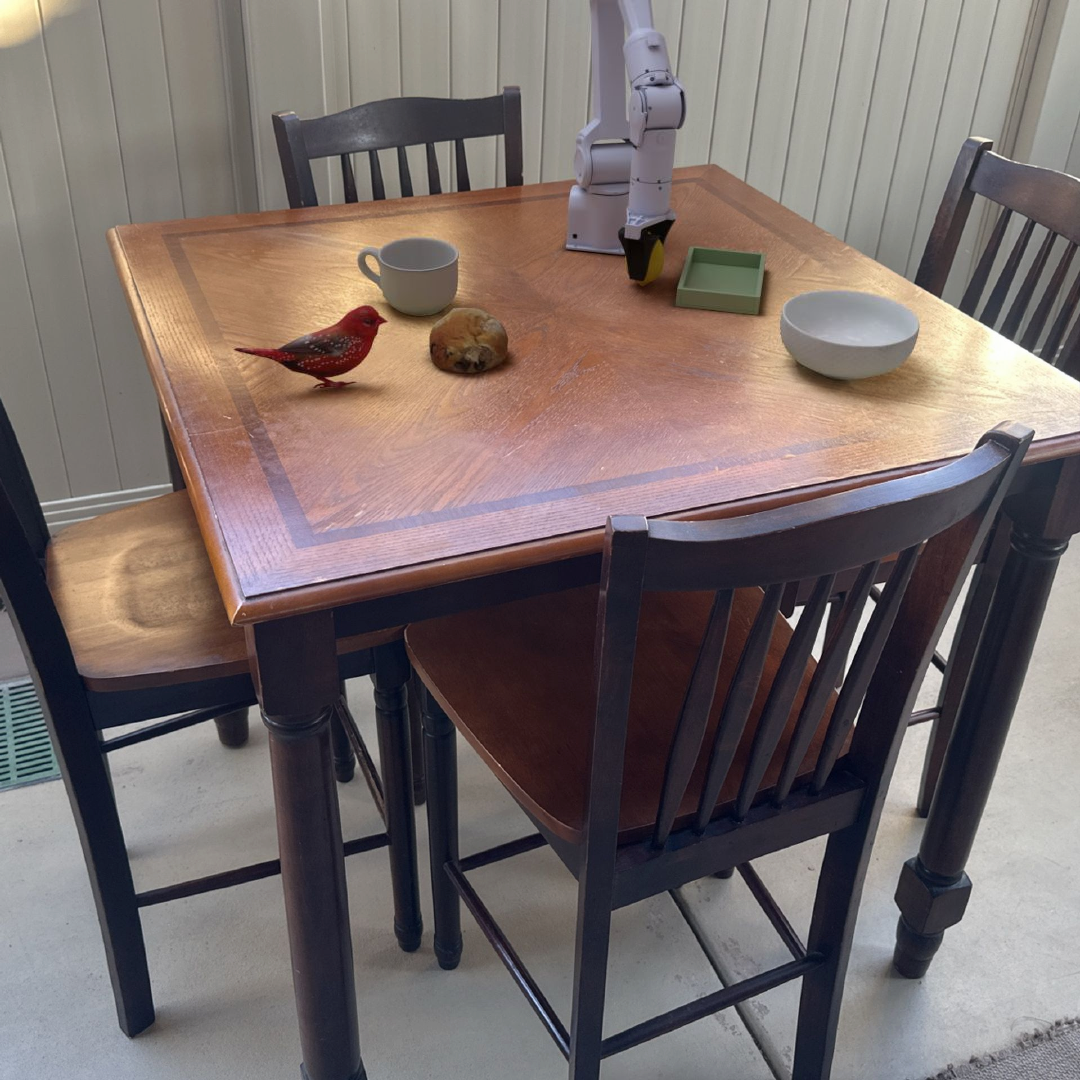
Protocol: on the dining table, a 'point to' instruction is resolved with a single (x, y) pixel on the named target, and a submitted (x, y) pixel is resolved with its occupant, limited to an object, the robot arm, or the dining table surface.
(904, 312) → the cereal bowl
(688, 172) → the dining table surface
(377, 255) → the teacup
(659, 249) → the lemon
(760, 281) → the tray
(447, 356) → the bread roll
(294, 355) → the decorative bird figurine
